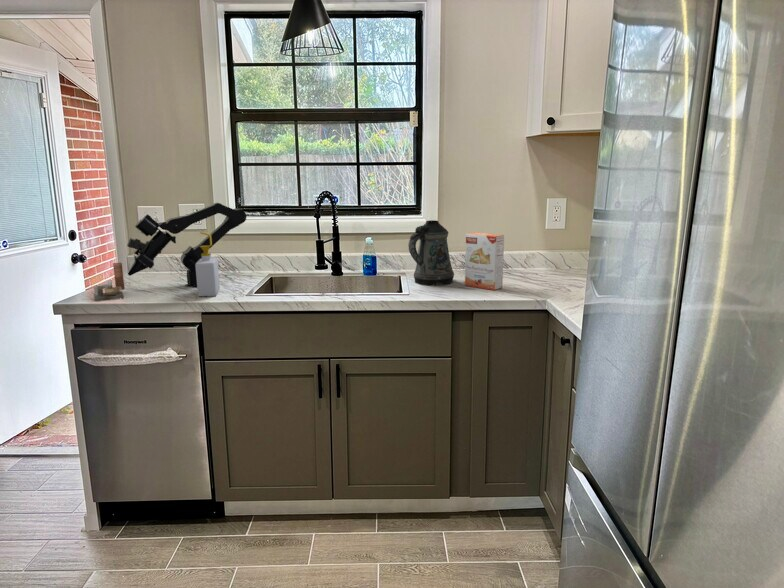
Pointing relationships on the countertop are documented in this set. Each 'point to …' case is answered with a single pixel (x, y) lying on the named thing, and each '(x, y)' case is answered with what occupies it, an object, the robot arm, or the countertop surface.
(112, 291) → the link
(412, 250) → the beer stein
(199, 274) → the soap bottle
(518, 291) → the countertop surface
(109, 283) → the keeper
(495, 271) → the cracker box
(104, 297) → the base plate
